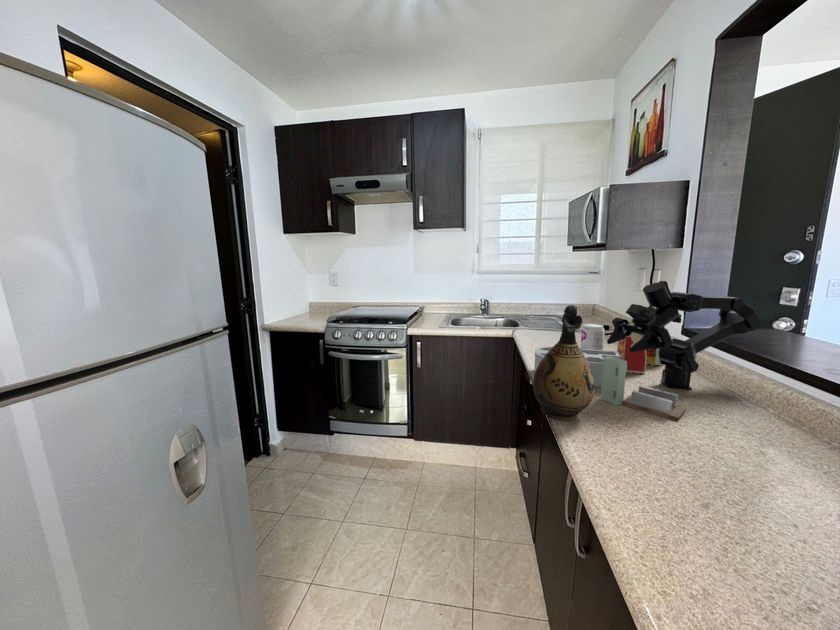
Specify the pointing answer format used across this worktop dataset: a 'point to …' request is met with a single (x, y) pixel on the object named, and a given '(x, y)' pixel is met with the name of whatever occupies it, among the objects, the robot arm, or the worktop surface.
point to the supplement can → (592, 337)
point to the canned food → (653, 357)
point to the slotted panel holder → (655, 402)
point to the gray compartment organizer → (592, 357)
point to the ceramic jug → (564, 374)
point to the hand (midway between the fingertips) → (618, 346)
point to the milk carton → (632, 353)
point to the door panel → (613, 380)
